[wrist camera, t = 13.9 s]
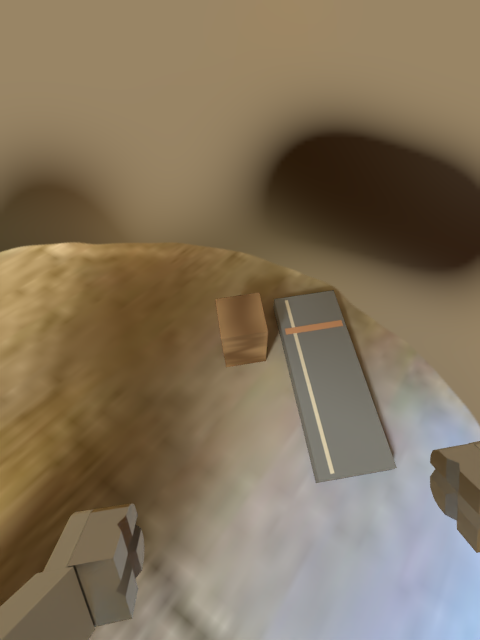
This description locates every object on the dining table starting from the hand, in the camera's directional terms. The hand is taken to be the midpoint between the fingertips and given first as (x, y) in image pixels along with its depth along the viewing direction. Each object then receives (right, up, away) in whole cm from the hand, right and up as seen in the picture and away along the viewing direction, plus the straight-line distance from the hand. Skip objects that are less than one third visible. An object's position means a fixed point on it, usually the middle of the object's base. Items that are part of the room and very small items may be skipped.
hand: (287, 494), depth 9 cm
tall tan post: (-1, +1, +35) cm, 35 cm away
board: (+9, -2, +32) cm, 33 cm away
